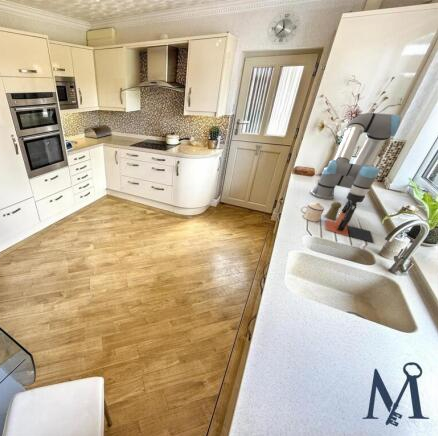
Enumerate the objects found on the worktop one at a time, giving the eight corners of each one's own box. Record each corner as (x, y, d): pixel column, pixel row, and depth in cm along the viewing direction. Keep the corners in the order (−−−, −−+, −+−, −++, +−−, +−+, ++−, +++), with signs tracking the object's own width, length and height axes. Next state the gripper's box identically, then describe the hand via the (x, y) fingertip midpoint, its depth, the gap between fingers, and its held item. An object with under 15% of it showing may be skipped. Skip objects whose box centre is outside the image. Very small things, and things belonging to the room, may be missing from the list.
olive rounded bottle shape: (337, 220, 153) (345, 205, 148) (327, 219, 154) (334, 204, 149) (332, 215, 158) (340, 201, 153) (323, 214, 159) (330, 200, 154)
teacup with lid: (318, 217, 156) (326, 202, 150) (319, 223, 149) (327, 207, 143) (298, 212, 161) (304, 197, 155) (297, 218, 154) (304, 202, 148)
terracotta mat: (325, 220, 152) (326, 219, 152) (346, 226, 147) (346, 225, 147) (326, 230, 142) (326, 229, 142) (348, 236, 137) (348, 235, 137)
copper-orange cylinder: (332, 224, 148) (339, 211, 143) (344, 227, 145) (351, 214, 140) (333, 228, 143) (339, 215, 139) (345, 231, 140) (352, 218, 136)
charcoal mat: (347, 226, 147) (347, 225, 147) (369, 232, 142) (369, 231, 142) (349, 236, 137) (349, 235, 137) (373, 243, 132) (373, 242, 132)
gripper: (368, 202, 122) (348, 237, 134) (363, 189, 139) (345, 221, 150) (351, 198, 126) (332, 232, 137) (347, 186, 142) (331, 217, 153)
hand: (339, 226), depth 144 cm, fingers open, 10 cm apart
